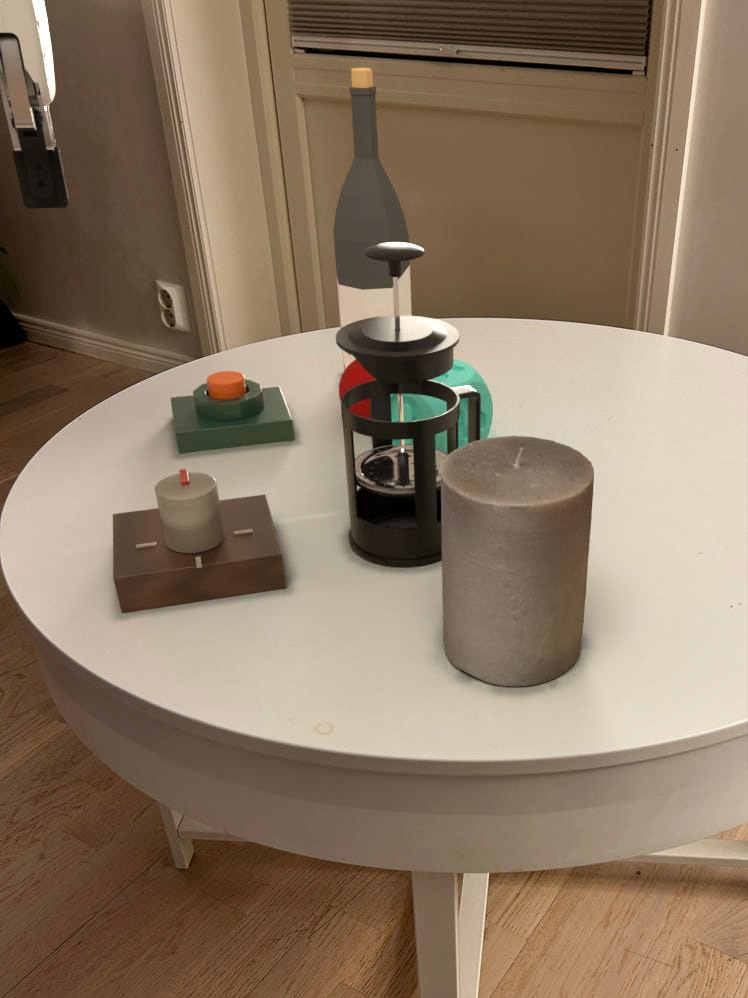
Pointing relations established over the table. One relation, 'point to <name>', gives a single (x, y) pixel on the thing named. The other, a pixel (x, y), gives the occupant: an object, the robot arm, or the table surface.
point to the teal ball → (431, 407)
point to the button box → (231, 419)
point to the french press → (400, 426)
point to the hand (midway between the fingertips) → (47, 205)
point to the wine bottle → (367, 221)
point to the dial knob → (190, 512)
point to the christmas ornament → (352, 378)
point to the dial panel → (196, 558)
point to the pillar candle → (515, 557)
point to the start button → (226, 385)
